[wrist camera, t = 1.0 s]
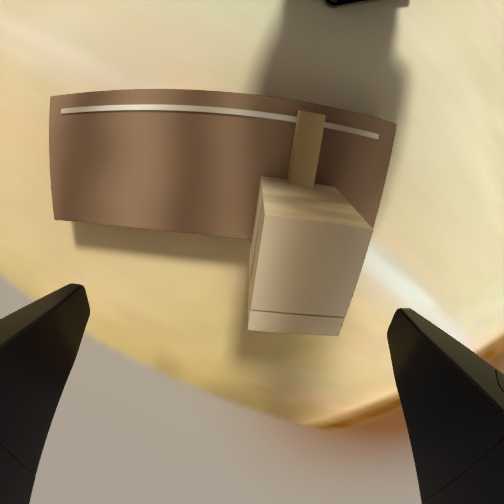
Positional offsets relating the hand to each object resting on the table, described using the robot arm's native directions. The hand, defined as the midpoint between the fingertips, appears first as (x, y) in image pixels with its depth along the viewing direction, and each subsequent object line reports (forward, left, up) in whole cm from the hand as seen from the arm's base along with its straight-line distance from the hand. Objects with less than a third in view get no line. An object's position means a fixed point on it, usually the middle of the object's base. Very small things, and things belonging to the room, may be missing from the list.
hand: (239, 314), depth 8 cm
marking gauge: (-3, 0, -11) cm, 12 cm away
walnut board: (+1, -3, -12) cm, 12 cm away
